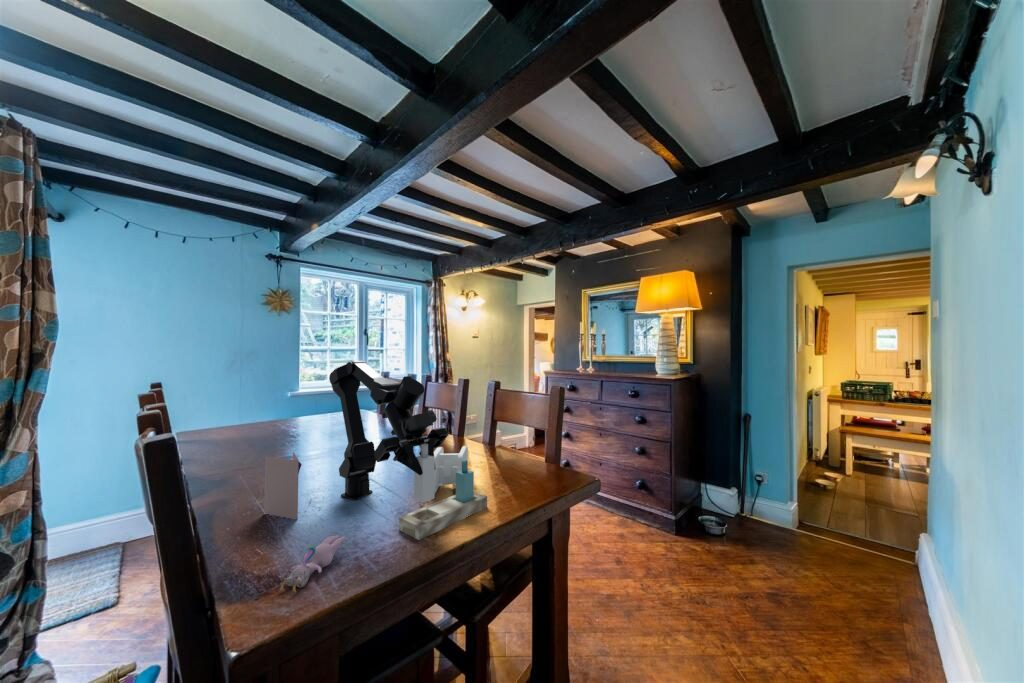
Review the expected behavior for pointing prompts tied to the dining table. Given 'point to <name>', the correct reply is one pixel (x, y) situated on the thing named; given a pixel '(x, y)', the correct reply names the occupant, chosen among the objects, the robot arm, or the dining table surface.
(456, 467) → the cable organizer
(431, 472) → the grey plug
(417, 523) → the slot rack
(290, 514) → the greeting card
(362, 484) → the robot arm
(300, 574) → the pink horned figurine
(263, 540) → the dining table surface
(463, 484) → the teal plug
